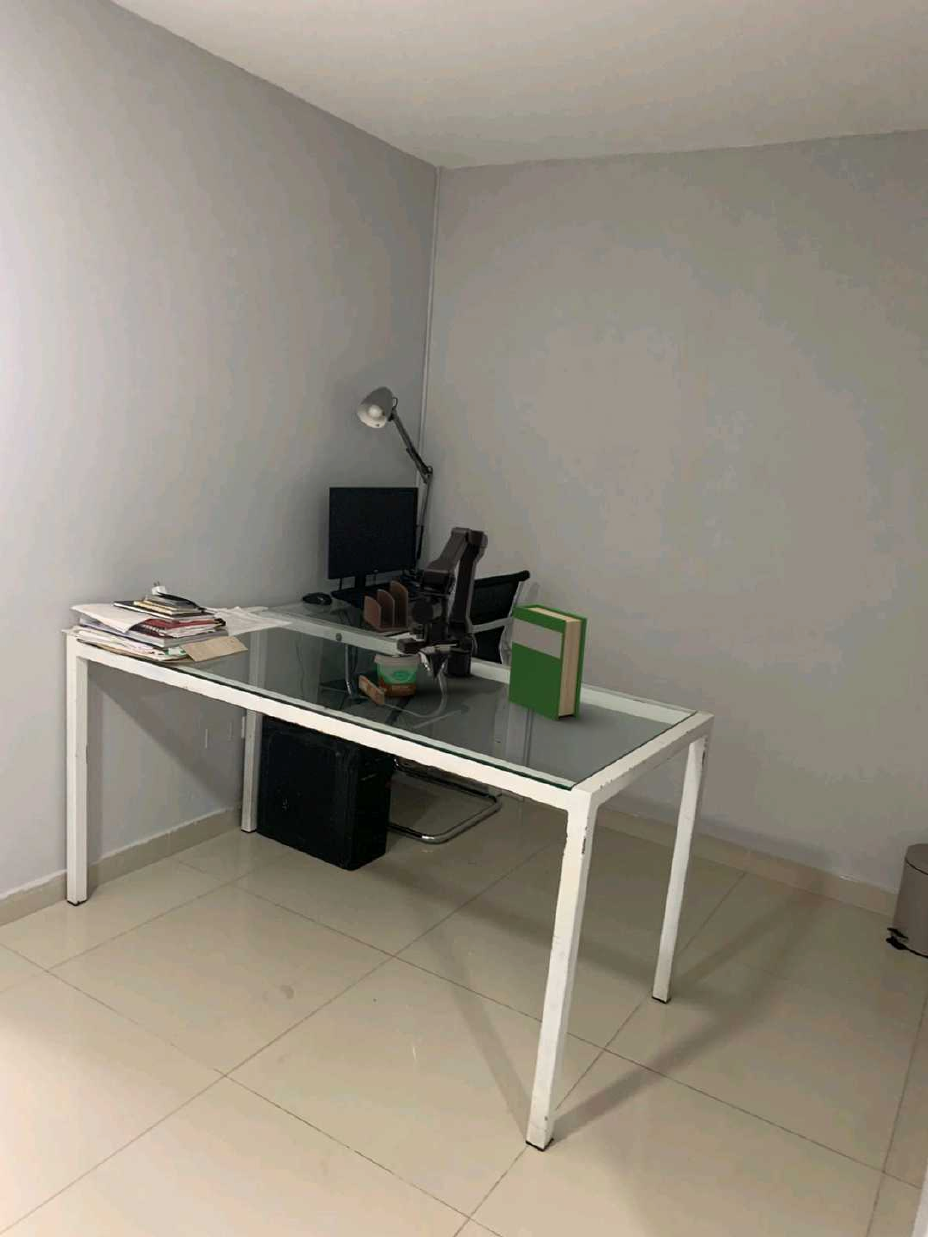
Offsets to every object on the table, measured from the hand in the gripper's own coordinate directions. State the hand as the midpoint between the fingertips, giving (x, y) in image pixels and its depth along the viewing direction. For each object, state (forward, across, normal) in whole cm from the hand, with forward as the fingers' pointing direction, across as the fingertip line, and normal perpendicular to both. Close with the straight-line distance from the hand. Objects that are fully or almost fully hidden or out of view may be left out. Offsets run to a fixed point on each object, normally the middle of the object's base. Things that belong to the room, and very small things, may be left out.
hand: (434, 677), depth 234 cm
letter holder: (+4, -15, -76) cm, 77 cm away
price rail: (+4, +16, 0) cm, 17 cm away
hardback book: (+4, -21, +19) cm, 29 cm away
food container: (+4, +9, 0) cm, 9 cm away
